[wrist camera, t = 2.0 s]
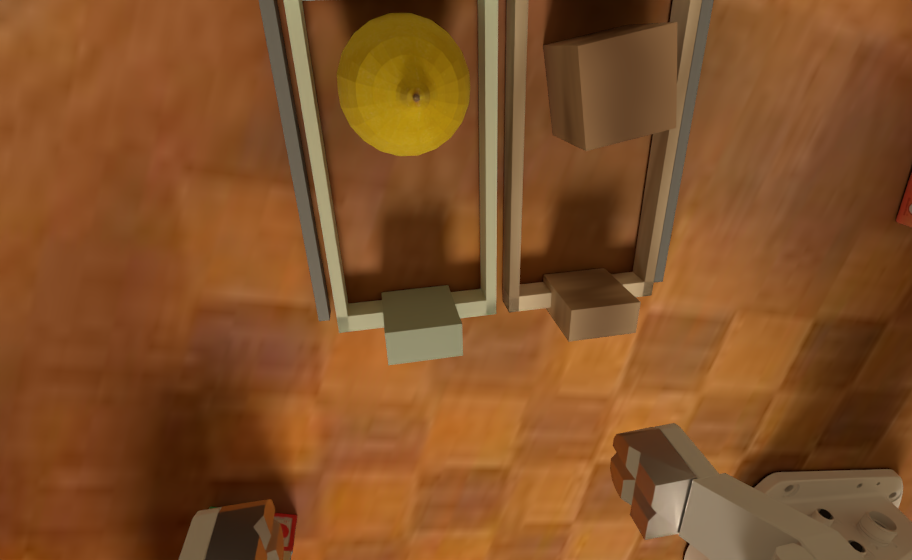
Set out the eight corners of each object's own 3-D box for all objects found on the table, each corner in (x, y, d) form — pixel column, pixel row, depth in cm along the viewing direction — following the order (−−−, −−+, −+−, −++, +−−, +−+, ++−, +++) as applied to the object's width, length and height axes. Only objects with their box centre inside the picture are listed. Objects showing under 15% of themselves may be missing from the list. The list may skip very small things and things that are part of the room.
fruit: (333, 17, 22) (321, 7, 15) (452, 16, 23) (493, 6, 16) (347, 140, 25) (342, 181, 18) (454, 136, 25) (490, 173, 18)
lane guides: (713, -72, 23) (727, -76, 22) (654, 274, 32) (662, 281, 31) (249, -70, 20) (244, -75, 19) (320, 312, 29) (319, 321, 28)
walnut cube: (626, 24, 25) (677, 22, 21) (629, 114, 27) (676, 127, 23) (542, 45, 24) (577, 46, 20) (552, 134, 26) (585, 151, 22)
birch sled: (688, -33, 24) (755, -47, 20) (637, 291, 32) (677, 327, 28) (506, -30, 22) (538, -45, 18) (502, 307, 30) (523, 347, 26)
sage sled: (490, -29, 22) (518, -45, 18) (490, 308, 30) (509, 349, 26) (283, -26, 21) (265, -41, 17) (341, 326, 29) (338, 371, 25)
